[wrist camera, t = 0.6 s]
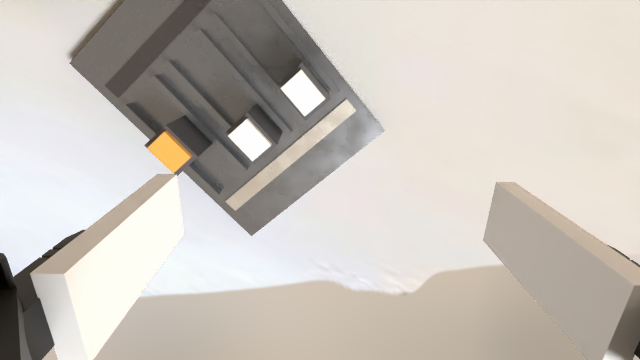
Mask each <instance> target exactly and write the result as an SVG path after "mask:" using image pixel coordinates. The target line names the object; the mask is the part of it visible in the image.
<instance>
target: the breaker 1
mask: <svg viewBox="0 0 640 360" xmlns="http://www.w3.org/2000/svg"><path fill="white" fill-rule="evenodd" d="M212 144H213V143H212V142H211V141H210V140H209V139H208V138H207V137H206V136H205V135H204V134H203V133H202V132H201V131H200V130H199V129H198V128H197V126H196V125H195V124H194V123H193V122H192V121H191V120H190V119H189V118H188V117H187V116H186V115H184V116H182V117H180V118H178V119H176V120H174V121H172V122H170V123H168V124H166V125H165V126H164V127H163V128H162V129H161V130H160V131H159V132H158V133H157V134H156V135H155V136H154V137H153V138H152V139H151V140H150V141H149V142H148V143H147V144H145V145H144V146H146V147H147V149H148V150H149V151H150V152H151V153H152V154H153V155H155V156H156V157H157V158H158V159H159V160H160V161H161V162H162V163H163V164H164V165H165V166H166V167H167V168H168V169H169V170H171V171H172V172H173V173H174V174H177V176H178V175H179V174H180V173H181V172H182V171H183V170H184V169H185V168H186V167H187V166H189V165H190V164H191V163H192V162H193V161H194V160H195V159H196V158H197V157H198V156H200V155H201V154H202V153H203V152H204V151H205V150H206V149H207V148H208V147H209V146H211V145H212Z"/></svg>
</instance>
